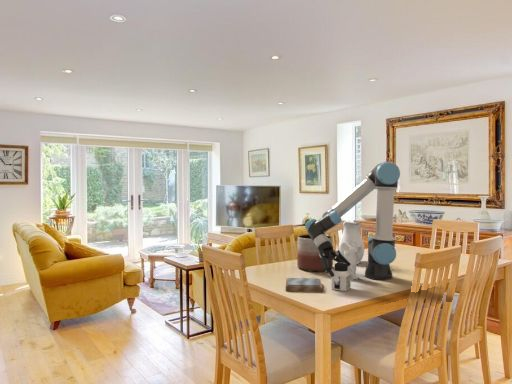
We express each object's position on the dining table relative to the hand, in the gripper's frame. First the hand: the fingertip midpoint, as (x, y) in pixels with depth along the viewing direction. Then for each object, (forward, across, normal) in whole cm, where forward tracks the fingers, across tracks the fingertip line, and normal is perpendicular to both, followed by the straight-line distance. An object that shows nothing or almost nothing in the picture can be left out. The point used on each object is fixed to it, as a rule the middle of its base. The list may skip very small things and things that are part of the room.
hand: (345, 279), depth 199 cm
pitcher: (-30, -56, -38) cm, 74 cm away
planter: (-29, -22, -36) cm, 51 cm away
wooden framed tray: (-8, +14, -15) cm, 22 cm away
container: (+2, 0, -6) cm, 6 cm away
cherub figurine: (-7, -22, -15) cm, 28 cm away
